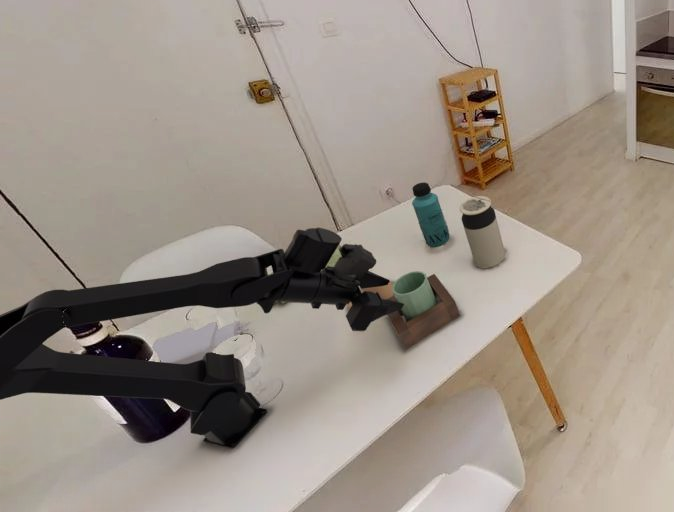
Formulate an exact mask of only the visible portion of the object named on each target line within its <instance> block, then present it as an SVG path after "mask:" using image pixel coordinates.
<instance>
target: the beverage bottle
mask: <svg viewBox="0 0 674 512" xmlns="http://www.w3.org/2000/svg"><path fill="white" fill-rule="evenodd" d="M411 189H412V194H413V196H414V198H413V200H412V202H411V205H412V207H413V210H414V213H415V215H416V218H417V222H418V225H419V227H420V231H421V234H422V236H423V238H424V242H425V244H426V246H427V247H429V248H433V249H436V248H441V247H443V246H445V245H446V244H448V242H449V241H450V240H451V239H450V238H451V234H450V229H449V227H448V223H447V222H446V219H445V215H444V212H443V209H442V207H441V204H440V201H439V196H438V195H437V194H436V193H434V192H431V191H432V189H431V187H430V185H429V183H428V182H424V181H423V182H419V183H416V184H414V185H413V187H412V188H411Z"/></svg>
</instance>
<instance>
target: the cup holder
mask: <svg viewBox="0 0 674 512" xmlns="http://www.w3.org/2000/svg"><path fill="white" fill-rule="evenodd" d="M427 278H428V281H429V283H430V286H431V288H432V291H433V294H434V296H435V299H436V301H437V305H436V306H434V307H432V308H430V309H429V310H427V311H425V312H424V313H422V314H420V315H418V316H417V317H415V318H413V319H412V320H410V321H408V322H406V321H404V319H403V317H402V316H404V315H403V313H402V311H401V309H400V310H397V311H395V312H393V313H390V314H388V315H386V316H387V319H388V321H389V323H390V324H391V326H392V328H393V330H394V331H395V333H396V336H397V338H398V339H399V340H400V343H401V344H402V346H403V348H404V350H408V349H410V348H411V347H413V346H414V345H416V344H419V342H421V341H423V340H424V339H426V338H428V337H429V336H430V335H432V334H434V333H435V332H437V331H439V330H440V329H442V328H443V327H445V326H446V325H448V324H450V323H452V322H453V321H455V320H457V319H458V318H459V317H461V314H460V311H459V308H458V305H457V303H456V300H455V299H454V298H453V296H452V295H451V294H450V293H449V291H448V290H447V288H446V286H444V284H443V283H442V281H440V279H439V278H438V276H437V275H436V274H435V273H433V274H431V275H429V276H427ZM386 300H391V301H396V302H397V300H396V298H395V296H394V295H393V296H392V297H390V298H388V299H386Z"/></svg>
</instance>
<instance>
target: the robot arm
mask: <svg viewBox="0 0 674 512" xmlns="http://www.w3.org/2000/svg"><path fill="white" fill-rule="evenodd" d="M342 240H343V239H342V236H340V235H339V234H338V233H336V232H334V231H332V230H330V229H327V228H322V227H310V228H307V229H305V230H303V229H297V230H295V232H294V234H293V236H292V239H291V241H290V243H289V245H288V246H287V248H286V250H284V249H283V248H278V249H275V250H273V251H269V252H266V253H263V254H260V255H256V256H246V257H245V256H244V257H240V258H236V259H232V260H227V261H222V262H219V263H215V264H213V265H210V266H208V267H205V268H204V269H201V270H200V271H196V272H191V273H188V274H187V273H186V274H181V275H172V276H166V277H165V276H164V277H157V278H150V279H144V280H135V281H127V282H120V283H114V284H107V285H106V284H105V285H99V286H91V287H85V288H77V289H70V290H69V289H68V290H67V289H51V290H47V291H44V292H42V293H40V294H38V295H37V296H35V297H34V298H31V300H29V301H27V302H26V303H24V304H22V305H20V306H18V307H16V308H13V309H11V310H8V311H6V312H4V313H1V314H0V401H1V400H5V399H9V398H12V397H16V396H20V395H23V394H24V395H25V394H52V395H70V396H71V395H73V396H91V397H92V396H95V397H113V398H115V397H117V398H134V399H135V398H138V399H157V400H158V399H159V400H167V401H170V402H172V403H173V404H175V405H177V406H179V407H180V408H182V409H184V410H186V411H188V412H189V413H190V414H189V415H190V416H189V417H190V419H189V422H190V434H193V435H198V436H204V439H203V440H202V441H203V443H205V444H208V445H213V446H217V447H222V448H225V449H226V448H227V449H234V448H236V447H237V446H238V444H240V443H241V441H243V440H244V438H246V436H247V435H248V434H249V433H250V432H251V431H252V429H253V428H254V427H255V426H256V425H257V424H258V423H259V422H260V421H261V420H262V419H263V418H264V417H265V416H266V414H268V409H267V408H264V407H261V403H260V401H259V400H258V399H257V398H256V397H255V396H254V395H253V393H252V392H250V391H246V390H247V386H246V385H247V384H246V380H245V379H246V378H245V371H244V366H243V362H242V361H241V359H239V358H236V357H235V354H234V353H231V354H221V353H220V354H216V353H213V352H208V353H206V354H205V356H204V357H203V359H202V360H199V361H196V362H192V363H189V364H175V363H165V362H155V361H146V359H145V360H143V359H134V358H123V357H116V356H115V357H113V356H103V355H93V354H85V353H84V354H83V353H74V352H73V353H72V352H64V351H57V350H54V349H52V348H50V347H49V346H47V345H45V344H44V343H45V342H46V341H47V340H48V339H49V338H51V337H52V336H54V335H55V334H57V333H58V332H61V331H62V330H63V329H65V328H71V327H78V326H84V325H88V324H89V325H90V324H95V323H100V322H107V321H111V320H117V319H118V320H119V319H124V318H128V317H134V316H139V315H140V316H141V315H146V314H151V313H157V312H162V311H163V312H164V311H168V310H169V311H170V310H174V309H175V310H176V309H180V308H186V307H205V308H213V309H225V308H227V309H228V308H239V307H240V308H241V307H248V306H251V305H254V304H257V305H259V307H261V309H262V311H263V313H264V314H269V313H270V312H271V311H272V309H273V307H274V306H275V304H276V303H278V302H280V303H281V302H286V303H292V304H293V303H296V304H310V306H311V308H312V310H313V309H316V310H319V309H320V308H321V306H322V305H329V306H330V305H331V306H335V308H336V310H337V311H344V310H345V308H346V306H347V305H349V303H350V302H351V303H352V306H351V308H350V309H349V308H348V311H347V312H346V314H345V318H346V321H347V323H348V325H349V327H350V329H351V330H352V332H365V331H367V330H368V328H369V326H371V324H372V323H373V322H374V321H377V320H378V319H381V318H383V317H386V316H387V315H388V314H390V313H393V312H395V311H397V310H400V309H402V307H403V306H404V304H403V303H400V302H396V301H391V300H386V299H381V297H380V295H379V293H378V292H376V293H373V292H371V291H365V292H362V290H361V289H363V288H371V287H379V286H385V285H388V284H389V282H391V281H390V279H388V278H386V277H384V276H381V275H379V274H377V273H374V272H372V271H370V270H371V269H373V268H374V267H375V266H376V264H377V259H376V258H375V256H374V255H373V253H372V252H371V251H369V250H367V249H366V248H364V246H363V244H357V243H354V244H351V243H350V244H348V243H347V244H346V243H344V244H343V245H341V242H342ZM339 244H340V245H341V248H339V252H340V254H341V256H342V257H340V258H339V259H338V261H337V263H336V264H335V266H334V267H330V266H327V267H326V265H327V264H328V262H329V260H330V259H331V257H332V255H333V254H334V252H335V250H336V249H337V247H338V245H339ZM270 267H271V270H272V272H273V274H270V273H268V269H267V268H270ZM321 270H322V271H321ZM269 274H270V275H269ZM77 304H78V305H77ZM69 306H71V307H69ZM66 308H67V309H66ZM65 309H66V310H65ZM64 310H65V311H64ZM63 311H64V313H63ZM62 316H63V317H62ZM63 321H64V323H63ZM65 325H66V326H65Z"/></svg>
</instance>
